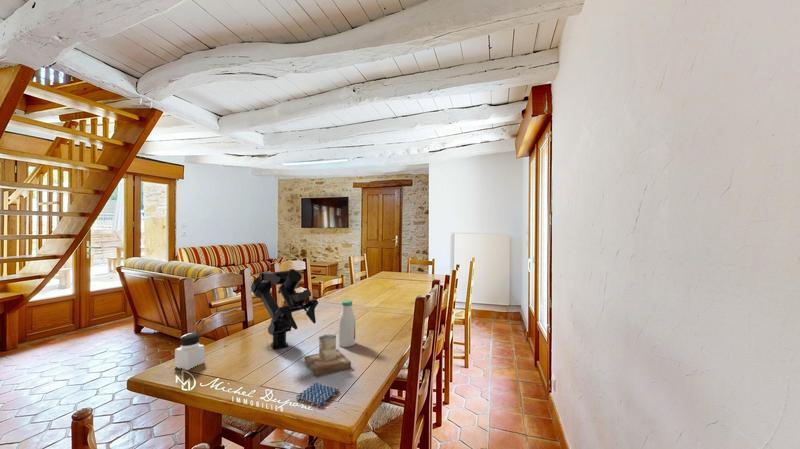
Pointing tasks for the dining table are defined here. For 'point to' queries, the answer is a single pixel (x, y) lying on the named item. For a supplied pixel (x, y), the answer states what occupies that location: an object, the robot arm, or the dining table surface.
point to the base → (327, 364)
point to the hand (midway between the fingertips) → (306, 325)
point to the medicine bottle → (189, 352)
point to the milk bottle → (347, 325)
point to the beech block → (327, 347)
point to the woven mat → (318, 395)
